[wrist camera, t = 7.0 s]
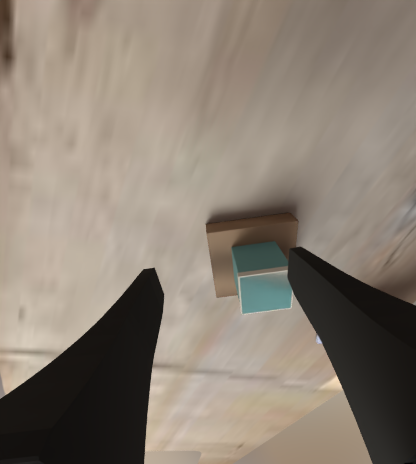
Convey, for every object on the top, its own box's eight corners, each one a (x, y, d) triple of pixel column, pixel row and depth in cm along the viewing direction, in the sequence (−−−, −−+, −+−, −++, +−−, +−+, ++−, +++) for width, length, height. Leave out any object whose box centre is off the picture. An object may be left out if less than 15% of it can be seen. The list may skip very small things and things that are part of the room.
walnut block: (283, 274, 26) (291, 288, 24) (215, 283, 26) (216, 297, 24) (288, 211, 22) (298, 220, 20) (205, 222, 22) (206, 233, 20)
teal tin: (274, 275, 23) (291, 308, 19) (233, 280, 23) (241, 314, 19) (276, 240, 20) (295, 269, 16) (230, 246, 21) (238, 276, 17)
